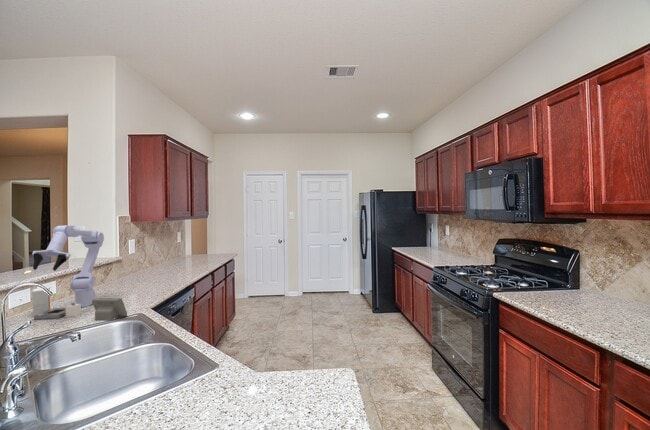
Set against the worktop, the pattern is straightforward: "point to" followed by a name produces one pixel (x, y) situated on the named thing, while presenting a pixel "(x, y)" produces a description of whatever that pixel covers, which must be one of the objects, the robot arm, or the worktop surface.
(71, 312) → the plug
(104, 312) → the digital clock
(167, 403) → the worktop surface
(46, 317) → the socket plate
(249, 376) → the worktop surface
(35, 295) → the small box
